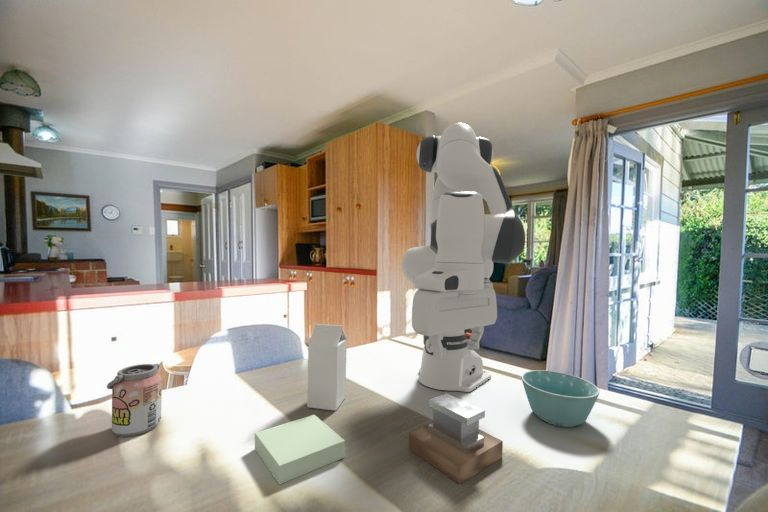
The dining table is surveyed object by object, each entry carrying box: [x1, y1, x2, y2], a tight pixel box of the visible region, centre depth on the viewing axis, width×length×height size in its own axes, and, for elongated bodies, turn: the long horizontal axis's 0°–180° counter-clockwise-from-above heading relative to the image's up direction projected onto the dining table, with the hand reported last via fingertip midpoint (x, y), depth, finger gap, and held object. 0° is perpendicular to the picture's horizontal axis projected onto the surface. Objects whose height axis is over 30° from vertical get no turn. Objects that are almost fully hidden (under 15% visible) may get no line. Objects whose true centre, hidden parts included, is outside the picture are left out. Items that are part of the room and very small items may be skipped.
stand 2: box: [408, 425, 504, 485], centre depth 63 cm, size 12×12×3 cm
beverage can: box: [106, 363, 163, 438], centre depth 69 cm, size 9×8×12 cm
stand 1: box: [254, 414, 346, 485], centre depth 62 cm, size 12×12×3 cm
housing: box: [427, 393, 486, 454], centre depth 63 cm, size 5×9×6 cm, turn 38°
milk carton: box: [306, 323, 348, 411], centre depth 82 cm, size 7×7×19 cm
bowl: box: [521, 369, 600, 428], centre depth 77 cm, size 16×16×8 cm
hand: (457, 353), depth 62 cm, fingers open, 8 cm apart
